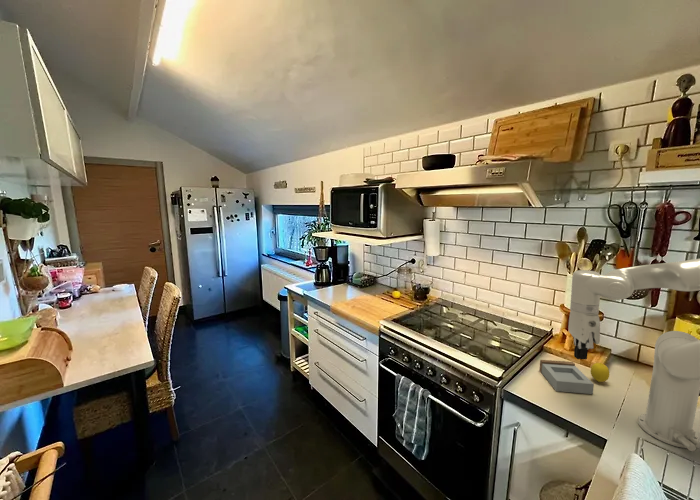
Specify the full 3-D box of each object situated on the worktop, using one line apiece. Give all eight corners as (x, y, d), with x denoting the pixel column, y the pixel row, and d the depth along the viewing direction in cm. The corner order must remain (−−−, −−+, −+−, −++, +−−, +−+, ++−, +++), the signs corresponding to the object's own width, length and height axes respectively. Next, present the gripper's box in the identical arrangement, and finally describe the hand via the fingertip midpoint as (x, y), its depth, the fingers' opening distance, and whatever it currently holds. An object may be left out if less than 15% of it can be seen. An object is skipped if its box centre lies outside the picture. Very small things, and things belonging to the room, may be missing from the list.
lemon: (612, 386, 111) (614, 366, 110) (597, 386, 111) (599, 366, 110) (600, 377, 117) (602, 359, 115) (586, 377, 117) (588, 359, 115)
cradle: (592, 394, 106) (593, 384, 106) (556, 390, 109) (557, 381, 108) (574, 375, 118) (575, 366, 117) (541, 372, 120) (542, 363, 120)
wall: (573, 375, 118) (575, 364, 118) (541, 372, 121) (542, 361, 120) (571, 373, 120) (572, 361, 119) (539, 370, 122) (540, 359, 121)
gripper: (612, 315, 91) (607, 370, 93) (583, 300, 105) (580, 348, 108) (584, 314, 92) (580, 369, 95) (560, 300, 107) (557, 347, 109)
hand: (580, 358), depth 101 cm, fingers closed
